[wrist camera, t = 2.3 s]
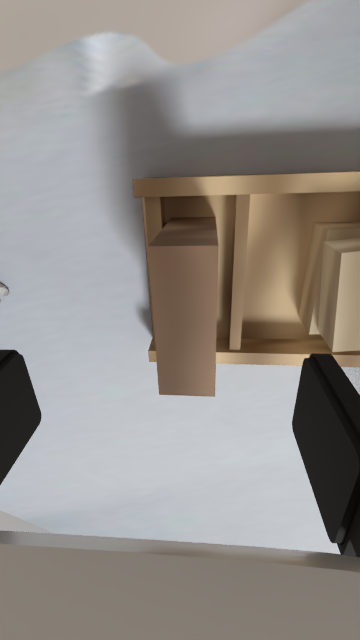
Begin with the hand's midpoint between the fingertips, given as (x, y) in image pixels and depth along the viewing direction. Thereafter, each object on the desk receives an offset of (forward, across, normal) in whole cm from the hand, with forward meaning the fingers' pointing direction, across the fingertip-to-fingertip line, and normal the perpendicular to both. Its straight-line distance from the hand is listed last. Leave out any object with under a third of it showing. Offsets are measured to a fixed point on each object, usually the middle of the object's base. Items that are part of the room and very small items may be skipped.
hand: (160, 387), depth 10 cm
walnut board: (+14, -1, 0) cm, 14 cm away
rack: (+14, -6, 0) cm, 15 cm away
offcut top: (+11, -11, 0) cm, 15 cm away
